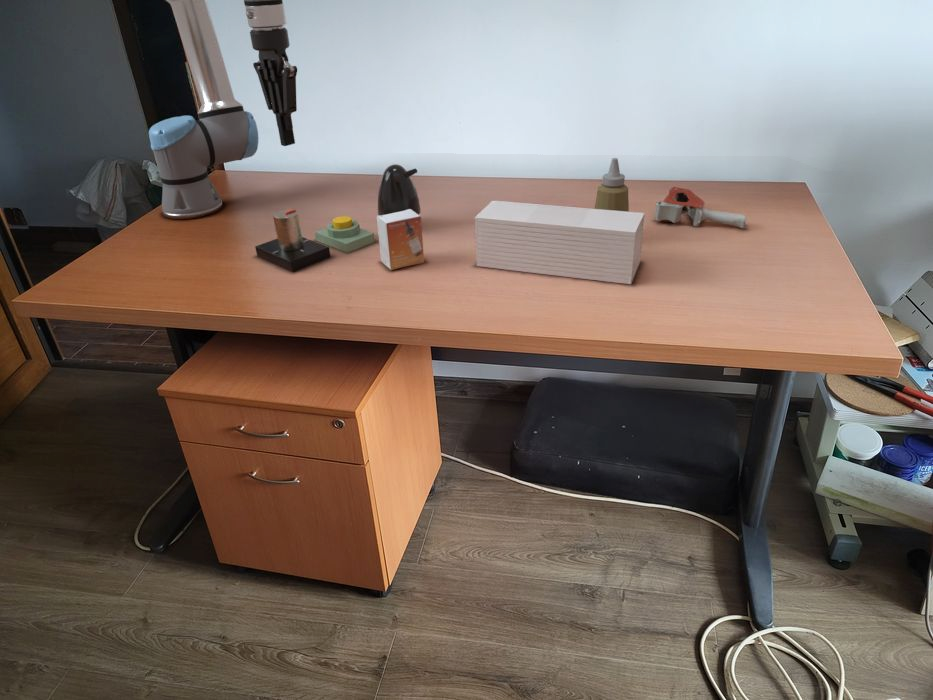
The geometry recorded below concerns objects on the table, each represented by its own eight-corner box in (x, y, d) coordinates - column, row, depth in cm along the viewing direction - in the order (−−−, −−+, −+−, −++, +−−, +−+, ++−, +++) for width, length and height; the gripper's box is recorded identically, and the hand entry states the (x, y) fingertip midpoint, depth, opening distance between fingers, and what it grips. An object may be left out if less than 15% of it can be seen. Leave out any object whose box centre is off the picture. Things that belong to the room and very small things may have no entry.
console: (257, 256, 151) (254, 245, 149) (294, 243, 157) (292, 232, 155) (292, 272, 142) (290, 261, 141) (330, 257, 148) (328, 246, 147)
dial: (288, 252, 145) (281, 218, 141) (275, 247, 148) (268, 213, 144) (308, 245, 148) (302, 211, 144) (294, 240, 151) (288, 206, 147)
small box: (390, 271, 140) (385, 223, 135) (380, 262, 145) (375, 215, 139) (425, 262, 143) (421, 215, 138) (414, 254, 148) (410, 208, 142)
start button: (329, 227, 154) (328, 220, 153) (344, 221, 157) (343, 214, 156) (341, 231, 152) (340, 224, 151) (356, 225, 154) (355, 218, 153)
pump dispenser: (416, 235, 157) (410, 171, 149) (374, 234, 159) (366, 171, 151) (427, 220, 165) (422, 158, 158) (387, 219, 167) (380, 158, 160)
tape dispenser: (749, 235, 152) (698, 203, 167) (755, 213, 149) (702, 182, 165) (682, 244, 147) (636, 210, 163) (687, 221, 144) (639, 189, 160)
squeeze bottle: (631, 235, 151) (638, 155, 142) (623, 248, 145) (629, 165, 136) (596, 231, 154) (601, 152, 145) (586, 243, 148) (590, 162, 139)
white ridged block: (639, 262, 138) (644, 212, 133) (630, 284, 130) (635, 232, 124) (493, 247, 149) (492, 200, 143) (476, 266, 141) (474, 217, 135)
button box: (316, 240, 157) (313, 224, 155) (343, 230, 162) (340, 214, 160) (347, 252, 150) (345, 236, 148) (375, 241, 155) (373, 225, 153)
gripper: (234, 28, 138) (257, 143, 151) (270, 31, 131) (291, 153, 143) (265, 24, 143) (285, 136, 155) (302, 27, 135) (319, 145, 148)
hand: (288, 144), depth 149 cm, fingers closed
